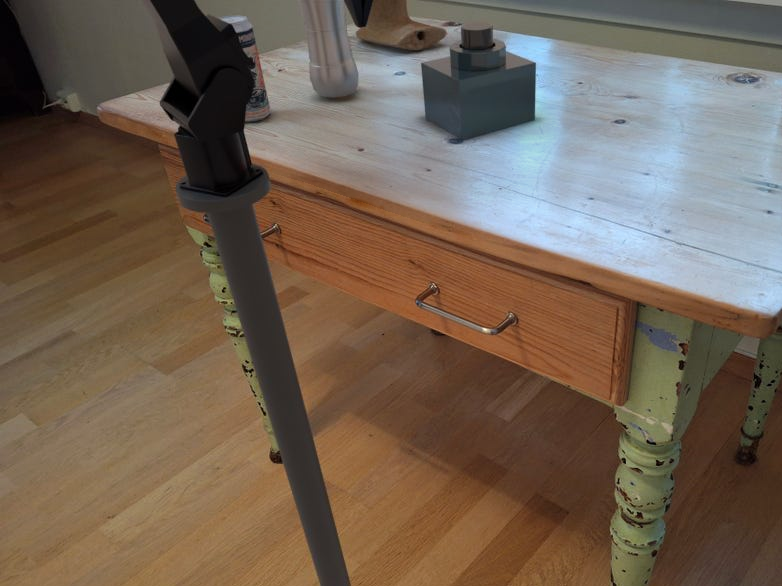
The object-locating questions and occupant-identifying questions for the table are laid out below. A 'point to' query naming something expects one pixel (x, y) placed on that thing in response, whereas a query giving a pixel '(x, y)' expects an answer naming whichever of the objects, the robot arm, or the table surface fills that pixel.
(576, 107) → the table surface
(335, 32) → the plastic bottle
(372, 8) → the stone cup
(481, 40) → the grey push button
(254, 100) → the beer can
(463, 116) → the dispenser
